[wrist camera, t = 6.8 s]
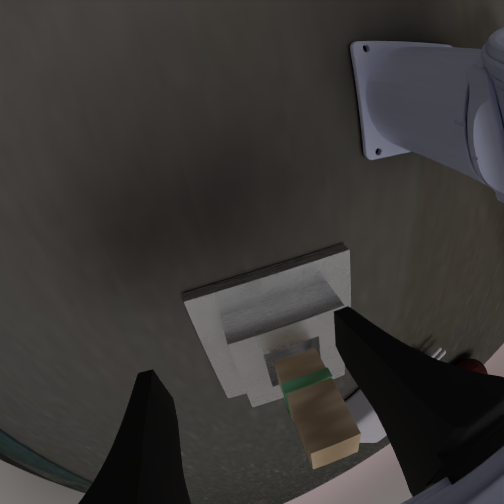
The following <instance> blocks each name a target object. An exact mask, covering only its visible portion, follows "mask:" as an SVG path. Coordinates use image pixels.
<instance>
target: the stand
mask: <svg viewBox="0 0 504 504" xmlns="http://www.w3.org/2000/svg"><path fill="white" fill-rule="evenodd" d="M183 301H184V304H185V306H186V309H187V311H188V313H189V316H190V318H191V320H192V322H193V325H194V327H195V329H196V331H197V334H198V336H199V338H200V340H201V343H202V345H203V347H204V349H205V351H206V353H207V356H208V358H209V360H210V362H211V364H212V366H213V368H214V370H215V373H216V375H217V377H218V379H219V381H220V383H221V385H222V387H223V389H224V391H225V393H226V395H227V397H228V398H231V397H235V396H238V395H241V394H245V393H247V395H248V397H249V400H250V402H251V405H252V407H255V406H259V405H262V404H265V403H268V402H271V401H274V400H277V399H280V398H283V397H284V396H283V393H282V391H281V388H280V385H279V381H278V377H277V373H276V369H275V365H274V362H276V361H279V360H282V359H285V358H288V357H291V356H294V355H297V354H300V353H302V352H305V351H308V350H311V349H313V348H316V350H317V352H318V354H319V356H320V358H321V359H322V361H323V363H324V365H325V367H326V368H327V367H328V368H329V370H330V372H331V374H332V376H333V379H335V378H338V377H340V376H342V375H345V364H344V362H343V360H342V358H341V356H340V354H339V352H338V350H337V348H336V346H335V326H334V311H336V310H339V309H342V308H344V307H347V306H349V307H350V308H351V280H350V250H349V249H348V248H347V247H346V246H345V245H344V244H343V243H342V244H339V245H336V246H333V247H330V248H327V249H324V250H321V251H317V252H314V253H311V254H308V255H305V256H302V257H299V258H295V259H292V260H289V261H286V262H283V263H280V264H276V265H273V266H270V267H267V268H264V269H260V270H257V271H254V272H251V273H247V274H244V275H241V276H238V277H234V278H231V279H228V280H225V281H221V282H218V283H215V284H212V285H208V286H205V287H202V288H198V289H195V290H192V291H188V292H185V293H183Z"/></svg>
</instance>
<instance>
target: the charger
mask: <svg viewBox="0 0 504 504" xmlns="http://www.w3.org/2000/svg"><path fill="white" fill-rule="evenodd" d="M441 350H442V348H441V347H439V348H438V349H437V350H436V351H435V352H434V353H433V354H432V355H431V356H430V357H433V358H434V357H435V356H436V355H437V354H438V353H439V352H440V351H441ZM445 353H446V351H445V350H444V351H443V352H442V353H441V354H440V355H439V356H438V357H437V358H436V359H437V360H440V358H441V357H442V356H443V355H444V354H445ZM345 404H346V406H347V408H348V410H349V412H350V413H351V415H352V417H353V419H354V421H355V423H356V425H357V427H358V428H359V430H360V432H361V437H360V442H361V443H376V442H378V441H380V440H381V439H382V438H383V437H385V436H386V435H387V434H386V432H385V430H384V428H383V426H382V424H381V422H380V420H379V418H378V416H377V414H376V413H375V411H374V409H373V407H372V406H371V404H370V403H369V401H368V400H367V398H366V397H365V395H364V394H363V392H362V391H361V389H359V390H358V391H357V392H355V393H354V394H353V395H352V396H351V397H350V398H349V399H347V400H346V401H345Z"/></svg>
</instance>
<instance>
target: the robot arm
mask: <svg viewBox="0 0 504 504" xmlns="http://www.w3.org/2000/svg"><path fill="white" fill-rule="evenodd" d="M363 46H365V47H366V52H365V51H364V50H363ZM350 52H351V58H352V64H353V70H354V76H355V83H356V90H357V97H358V105H359V113H360V122H361V131H362V141H363V153H364V156H365V157H366V158H367V159H369V160H375V159H380V158H384V157H389V156H394V155H398V154H403V153H408V152H414V153H417V154H419V155H422V156H424V157H427V158H429V159H431V160H434V161H436V162H438V163H441V164H443V165H445V166H447V167H450V168H452V169H454V170H456V171H458V172H461V173H463V174H465V175H467V176H469V177H471V178H473V179H475V180H477V181H479V182H481V183H483V184H485V185H488V186H489V187H491V188H492V189H493V190H494V191H495V193H496V196H497V200H499V201H501V202H503V203H504V27H503V28H501V29H499V30H497V31H495V32H494V33H492V34H491V36H490V37H489V39H488V41H487V42H486V43H485V44H484V45H483V47H482V49H474V48H458V47H452V46H451V45H445V44H434V43H421V42H402V41H356V42H353V43H352V44H351V45H350ZM377 148H378V153H377V154H376V153H375V151H376V149H377ZM334 326H335V346H336V348H337V350H338V352H339V354H340V356H341V358H342V360H343V362H344V364H345V366H346V368H347V369H348V371H349V373H350V374H351V376H352V377H353V379H354V380H355V382H356V383H357V385H358V386H359V388H360V389H361V391H362V392H363V394H364V395H365V397H366V398H367V400H368V401H369V403H370V404H371V406H372V407H373V409H374V411H375V413H376V414H377V416H378V418H379V420H380V422H381V424H382V426H383V428H384V430H385V432H386V434H387V437H388V439H389V441H390V443H391V445H392V447H393V449H394V452H395V454H396V457H397V459H398V461H399V464H400V466H401V468H402V471H403V474H404V476H405V479H406V482H407V484H408V487H409V490H410V492H411V494H412V496H413V497H412V498H410V499H409V500H407V501H405V502H403V503H401V504H504V377H500V376H494V375H488V374H483V373H478V372H474V371H470V370H466V369H463V368H460V367H457V366H454V365H451V364H448V363H445V362H442V361H440V360H437V359H435V358H433V357H430V356H428V355H426V354H424V353H422V352H420V351H418V350H416V349H414V348H412V347H410V346H408V345H406V344H405V343H403V342H401V341H399V340H398V339H396V338H394V337H393V336H391V335H390V334H388V333H386V332H385V331H383V330H382V329H380V328H379V327H377V326H376V325H374V324H373V323H371V322H370V321H368V320H367V319H366V318H364V317H363V316H361V315H360V314H359V313H357V312H356V311H355V310H353V309H352V308H350V307H349V306H347V307H344V308H342V309H339V310H336V311H334ZM78 504H191V502H190V499H189V495H188V491H187V487H186V483H185V479H184V474H183V468H182V459H181V449H180V439H179V428H178V420H177V415H176V410H175V405H174V401H173V398H172V396H171V395H170V393H169V392H168V391H167V389H166V388H165V386H164V385H163V384H162V382H161V381H160V379H159V378H158V376H157V375H156V373H155V372H154V370H149V371H145V372H141V373H138V375H137V378H136V381H135V384H134V388H133V391H132V394H131V397H130V400H129V403H128V406H127V409H126V412H125V415H124V418H123V421H122V423H121V426H120V428H119V431H118V433H117V436H116V438H115V441H114V443H113V446H112V448H111V450H110V452H109V454H108V456H107V458H106V460H105V462H104V464H103V466H102V468H101V470H100V471H99V473H98V475H97V477H96V478H95V480H94V482H93V483H92V485H91V486H90V488H89V489H88V491H87V492H86V494H85V495H84V497H83V498H82V499H81V501H80V502H79V503H78Z"/></svg>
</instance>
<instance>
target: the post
mask: <svg viewBox="0 0 504 504" xmlns="http://www.w3.org/2000/svg"><path fill="white" fill-rule="evenodd" d="M274 365H275V369H276V373H277V377H278V381H279V385H280V388H281V391H282V393H283V396H284V399H285V403H286V407H287V410H288V412H289V415H290V417H291V416H292V418H293V421H294V423H295V426H296V428H297V431H298V433H299V436H300V438H301V441H302V443H303V446H304V448H305V451H306V453H307V456H308V458H309V460H310V463H311V465H312V468H313V469H315V468H318V467H321V466H323V465H326V464H329V463H331V462H334V461H336V460H339V459H341V458H344V457H346V456H348V455H351V454H353V453H355V452H358V447H359V442H360V437H361V432H360V430H359V428H358V427H357V425H356V423H355V421H354V419H353V417H352V415H351V413H350V412H349V410H348V408H347V406H346V404H345V402H344V400H343V398H342V397H341V395H340V393H339V391H338V389H337V387H336V385H335V384H334V382H333V376H332V374H331V372H330V370H329V368H328V367H327V368H326V367H325V365H324V363H323V361H322V359H321V358H320V356H319V354H318V352H317V350H316V348H313V349H311V350H308V351H305V352H302V353H300V354H297V355H294V356H291V357H288V358H285V359H282V360H279V361H276V362H274Z"/></svg>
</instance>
